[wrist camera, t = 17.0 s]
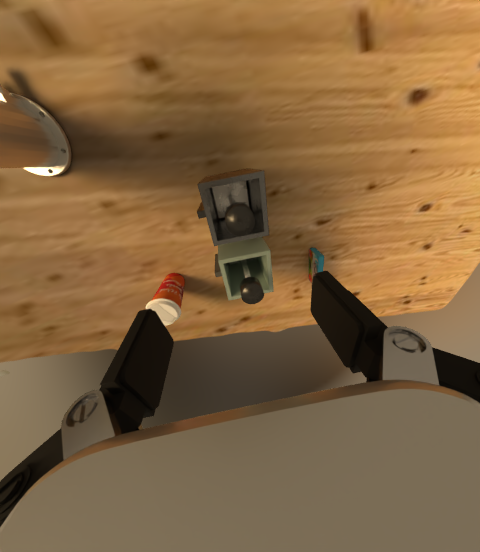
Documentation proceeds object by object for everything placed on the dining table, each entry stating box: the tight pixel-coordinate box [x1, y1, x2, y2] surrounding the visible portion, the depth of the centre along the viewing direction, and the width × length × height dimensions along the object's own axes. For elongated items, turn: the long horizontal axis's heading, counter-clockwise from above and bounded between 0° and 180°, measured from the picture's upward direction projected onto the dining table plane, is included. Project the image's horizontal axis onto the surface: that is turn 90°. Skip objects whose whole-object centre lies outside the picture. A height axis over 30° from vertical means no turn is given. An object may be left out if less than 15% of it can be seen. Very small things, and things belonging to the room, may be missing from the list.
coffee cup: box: [146, 273, 185, 325], centre depth 49 cm, size 8×8×15 cm
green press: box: [215, 237, 274, 300], centre depth 43 cm, size 10×12×18 cm
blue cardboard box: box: [309, 248, 324, 283], centre depth 55 cm, size 12×2×6 cm, turn 11°
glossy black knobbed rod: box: [229, 257, 264, 304], centre depth 39 cm, size 8×8×20 cm
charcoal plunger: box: [212, 181, 255, 236], centre depth 32 cm, size 8×8×20 cm
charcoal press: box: [197, 169, 269, 246], centre depth 36 cm, size 10×12×18 cm
